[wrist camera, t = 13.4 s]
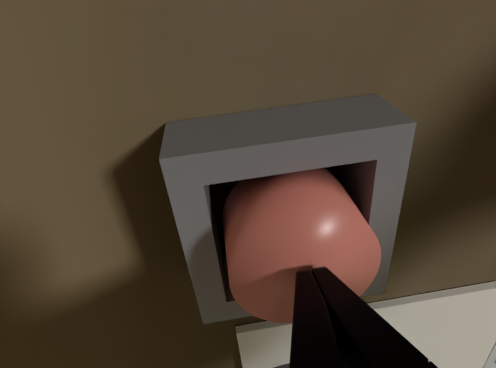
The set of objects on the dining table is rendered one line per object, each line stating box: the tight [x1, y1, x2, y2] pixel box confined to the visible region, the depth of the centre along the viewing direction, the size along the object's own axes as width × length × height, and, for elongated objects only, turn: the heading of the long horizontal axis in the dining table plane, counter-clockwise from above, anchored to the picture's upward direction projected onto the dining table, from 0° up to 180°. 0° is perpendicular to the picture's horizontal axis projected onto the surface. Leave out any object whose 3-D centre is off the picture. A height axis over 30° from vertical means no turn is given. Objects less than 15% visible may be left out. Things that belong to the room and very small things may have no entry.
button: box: [222, 168, 381, 323], centre depth 11 cm, size 4×4×3 cm
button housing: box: [159, 94, 417, 324], centre depth 12 cm, size 7×7×2 cm
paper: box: [235, 281, 496, 368], centre depth 20 cm, size 15×11×1 cm
